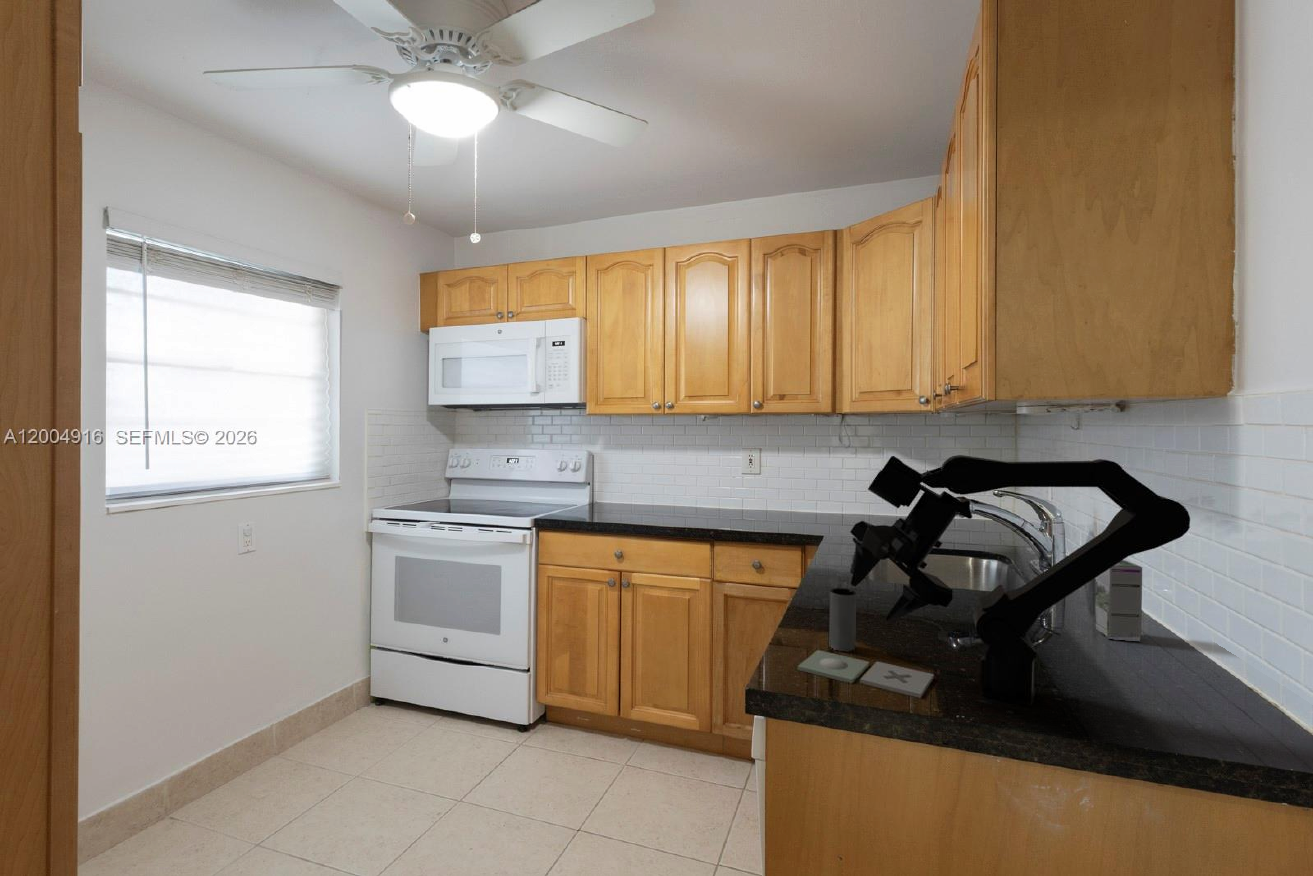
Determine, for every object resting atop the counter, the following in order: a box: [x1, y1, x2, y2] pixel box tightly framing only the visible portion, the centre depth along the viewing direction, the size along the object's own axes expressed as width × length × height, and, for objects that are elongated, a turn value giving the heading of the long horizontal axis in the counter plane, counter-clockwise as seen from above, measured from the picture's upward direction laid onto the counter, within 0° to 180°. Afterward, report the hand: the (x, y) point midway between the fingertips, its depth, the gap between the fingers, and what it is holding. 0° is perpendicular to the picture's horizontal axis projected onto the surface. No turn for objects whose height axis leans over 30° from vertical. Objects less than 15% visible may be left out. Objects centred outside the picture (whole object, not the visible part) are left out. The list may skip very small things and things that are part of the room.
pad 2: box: [859, 661, 935, 699], centre depth 100 cm, size 9×9×1 cm
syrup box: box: [1094, 559, 1143, 638], centre depth 122 cm, size 6×6×14 cm
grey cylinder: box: [828, 587, 857, 653], centre depth 114 cm, size 4×4×10 cm
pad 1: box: [797, 649, 870, 684], centre depth 105 cm, size 9×9×1 cm
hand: (869, 602), depth 103 cm, fingers open, 9 cm apart
